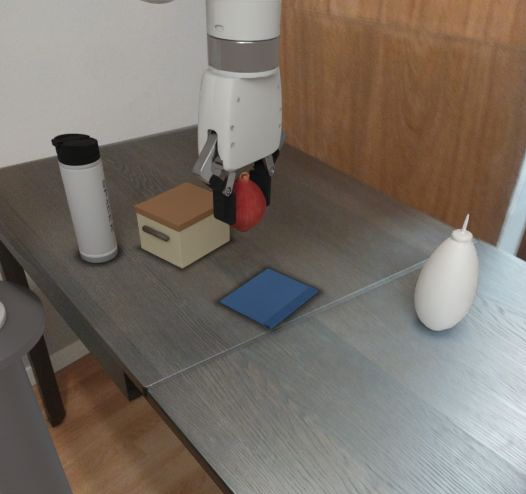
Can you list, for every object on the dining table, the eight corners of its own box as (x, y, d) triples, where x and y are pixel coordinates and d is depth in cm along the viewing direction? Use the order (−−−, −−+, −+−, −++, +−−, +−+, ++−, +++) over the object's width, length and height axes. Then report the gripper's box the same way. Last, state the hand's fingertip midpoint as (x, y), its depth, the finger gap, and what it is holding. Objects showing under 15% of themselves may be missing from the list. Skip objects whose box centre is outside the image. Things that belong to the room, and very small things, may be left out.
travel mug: (71, 254, 91) (42, 135, 78) (105, 240, 95) (82, 124, 81) (91, 268, 88) (64, 147, 74) (125, 254, 91) (105, 135, 78)
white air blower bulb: (473, 333, 77) (515, 220, 66) (433, 349, 74) (469, 235, 63) (435, 304, 83) (467, 195, 71) (396, 319, 80) (423, 207, 68)
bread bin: (178, 271, 88) (173, 228, 82) (136, 250, 92) (129, 207, 87) (230, 240, 96) (229, 198, 90) (189, 222, 100) (186, 181, 95)
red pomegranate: (234, 247, 67) (234, 186, 61) (212, 227, 70) (210, 168, 65) (273, 236, 69) (276, 176, 64) (250, 217, 73) (251, 159, 67)
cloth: (271, 329, 77) (271, 326, 77) (219, 302, 82) (219, 299, 81) (317, 292, 84) (318, 289, 84) (268, 269, 89) (268, 267, 88)
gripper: (267, 35, 63) (262, 182, 75) (156, 61, 52) (171, 226, 64) (320, 46, 59) (306, 198, 71) (212, 77, 49) (217, 248, 61)
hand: (242, 210), depth 68 cm, fingers closed on red pomegranate, 5 cm apart
